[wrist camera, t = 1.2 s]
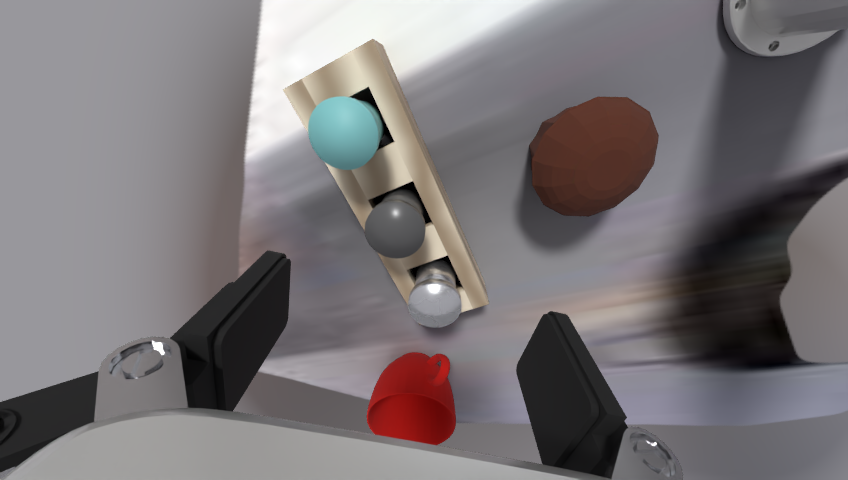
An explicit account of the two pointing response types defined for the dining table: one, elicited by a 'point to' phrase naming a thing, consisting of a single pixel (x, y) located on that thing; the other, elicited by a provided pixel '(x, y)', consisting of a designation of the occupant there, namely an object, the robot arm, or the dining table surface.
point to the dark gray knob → (396, 224)
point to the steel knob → (435, 295)
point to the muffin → (593, 155)
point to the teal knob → (345, 131)
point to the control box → (393, 166)
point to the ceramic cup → (414, 400)
